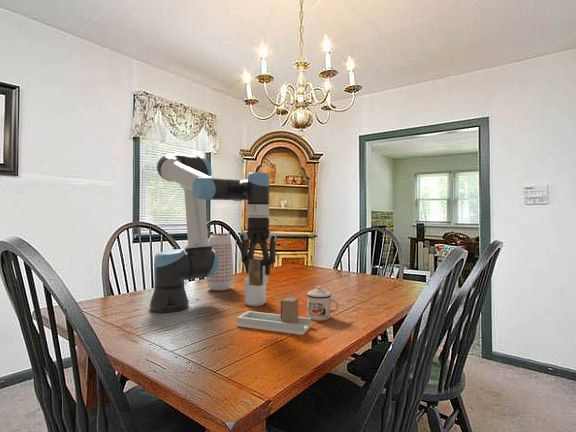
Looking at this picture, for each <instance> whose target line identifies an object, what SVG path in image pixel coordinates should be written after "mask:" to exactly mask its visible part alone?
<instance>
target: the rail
mask: <svg viewBox="0 0 576 432" xmlns="http://www.w3.org/2000/svg"><path fill="white" fill-rule="evenodd" d="M236 326H237V327H242V328H248V329H254V330H255V329H256V330H257V329H258V330H263V331H269V332H270V331H272V332H279V333H286V334H293V335H294V334H295V335H300V336H304V334H305V333H306V332H307V331H308V330H309V329H310V328H311V326H312V319H311V318H308V317H305V316H304V317H303V316H299V297H290V296H286V297H284V299H282V300H280V314H277V313H269V312H260V311H252V310H247V311H246V312H244V313H242V314H241V315H238V316H237V317H236Z"/></svg>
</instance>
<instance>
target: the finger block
mask: <svg viewBox="0 0 576 432" xmlns="http://www.w3.org/2000/svg"><path fill="white" fill-rule="evenodd" d="M264 265H265V263H264V259H263V257H253V258H252V259H249V274H248V277H249V285H252V286H261V285H263V266H264Z"/></svg>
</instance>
